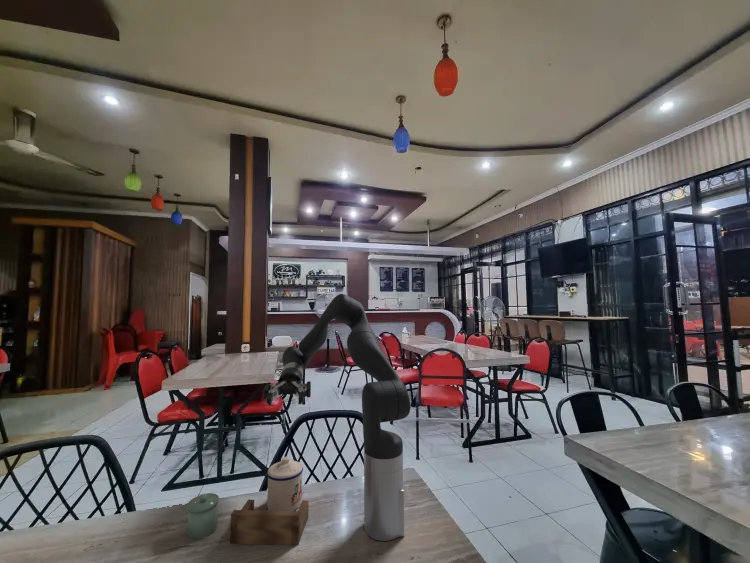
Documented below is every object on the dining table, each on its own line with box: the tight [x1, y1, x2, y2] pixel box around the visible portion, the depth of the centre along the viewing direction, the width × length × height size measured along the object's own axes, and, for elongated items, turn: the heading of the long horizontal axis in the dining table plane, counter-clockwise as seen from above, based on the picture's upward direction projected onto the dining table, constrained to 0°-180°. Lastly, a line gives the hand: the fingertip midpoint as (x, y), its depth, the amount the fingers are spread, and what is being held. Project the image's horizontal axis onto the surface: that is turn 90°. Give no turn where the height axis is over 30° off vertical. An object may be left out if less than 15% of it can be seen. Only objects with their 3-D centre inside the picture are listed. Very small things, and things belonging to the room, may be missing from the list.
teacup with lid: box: [266, 456, 304, 511], centre depth 86 cm, size 12×9×12 cm
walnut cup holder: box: [229, 499, 310, 546], centre depth 74 cm, size 15×9×6 cm, turn 88°
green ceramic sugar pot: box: [186, 492, 220, 540], centre depth 75 cm, size 6×6×8 cm
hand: (284, 402), depth 94 cm, fingers open, 8 cm apart
